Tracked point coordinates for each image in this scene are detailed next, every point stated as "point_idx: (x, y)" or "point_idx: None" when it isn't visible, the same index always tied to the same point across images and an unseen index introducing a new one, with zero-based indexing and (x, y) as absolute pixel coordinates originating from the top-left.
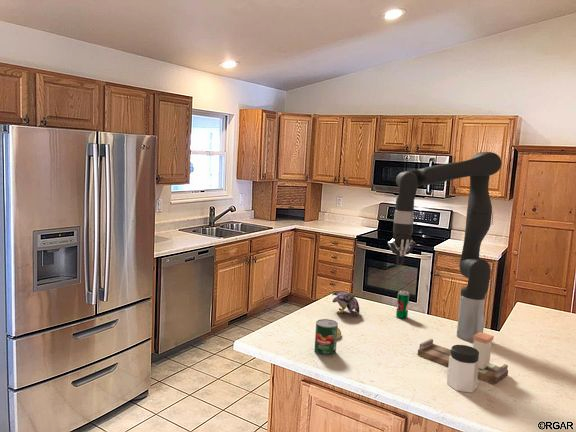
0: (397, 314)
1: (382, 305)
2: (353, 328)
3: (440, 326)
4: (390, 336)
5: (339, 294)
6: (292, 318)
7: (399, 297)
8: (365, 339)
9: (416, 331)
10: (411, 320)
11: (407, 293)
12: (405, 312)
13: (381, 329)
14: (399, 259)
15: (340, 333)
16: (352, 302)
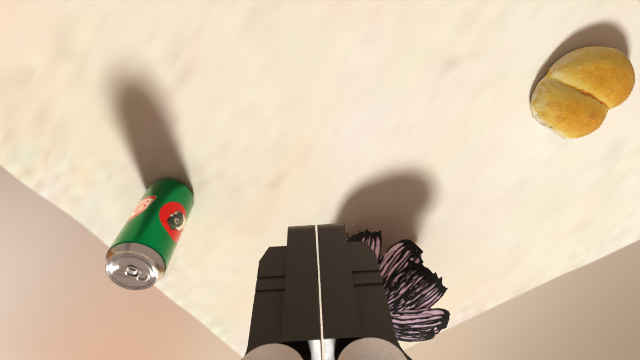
0: (191, 201)
1: (189, 303)
2: (438, 134)
3: (31, 69)
4: (341, 17)
5: (434, 313)
6: (575, 254)
7: (168, 248)
8: (471, 14)
9: (184, 41)
10: (144, 159)
11: (119, 252)
12: (158, 191)
13: (332, 99)
14: (366, 294)
15: (565, 65)
16: (389, 266)
